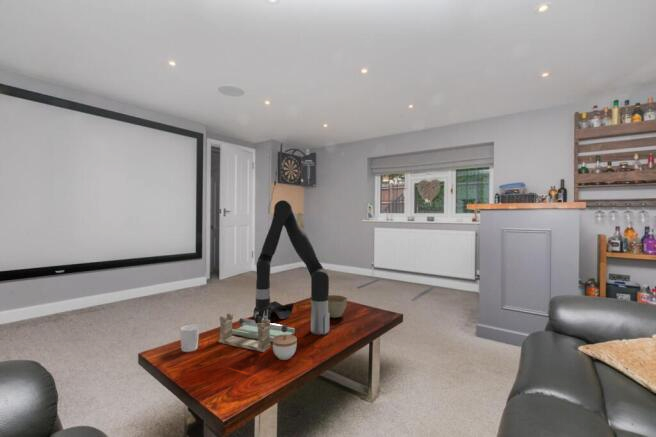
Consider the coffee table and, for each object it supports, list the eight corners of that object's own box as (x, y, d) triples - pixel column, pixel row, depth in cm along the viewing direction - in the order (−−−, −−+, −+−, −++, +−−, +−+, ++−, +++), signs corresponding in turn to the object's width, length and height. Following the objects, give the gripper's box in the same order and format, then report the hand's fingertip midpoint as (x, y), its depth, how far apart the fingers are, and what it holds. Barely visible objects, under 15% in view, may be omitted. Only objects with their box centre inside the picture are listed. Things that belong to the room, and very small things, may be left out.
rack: (270, 346, 140) (271, 320, 140) (263, 352, 135) (263, 324, 135) (227, 337, 150) (227, 313, 150) (218, 342, 145) (218, 316, 145)
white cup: (202, 347, 139) (202, 326, 139) (188, 354, 132) (188, 331, 132) (190, 344, 143) (190, 323, 143) (176, 350, 135) (176, 329, 135)
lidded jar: (275, 350, 136) (275, 330, 136) (298, 351, 136) (298, 330, 136) (269, 362, 126) (269, 340, 125) (295, 362, 125) (295, 340, 125)
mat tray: (294, 332, 158) (294, 328, 158) (279, 343, 144) (279, 339, 144) (248, 324, 169) (248, 320, 169) (230, 334, 155) (230, 329, 155)
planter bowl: (347, 320, 178) (347, 301, 178) (320, 319, 178) (320, 301, 178) (346, 311, 194) (346, 294, 194) (321, 311, 194) (321, 294, 194)
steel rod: (287, 331, 153) (287, 324, 153) (283, 333, 150) (283, 326, 150) (242, 323, 164) (243, 317, 164) (238, 325, 160) (238, 318, 160)
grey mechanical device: (274, 310, 197) (274, 296, 197) (294, 317, 183) (295, 302, 183) (251, 316, 183) (251, 302, 183) (271, 324, 170) (271, 308, 170)
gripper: (261, 301, 149) (260, 335, 149) (276, 294, 162) (276, 326, 162) (248, 299, 151) (248, 333, 152) (264, 292, 164) (264, 324, 164)
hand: (262, 329), depth 157 cm, fingers closed on steel rod, 3 cm apart
